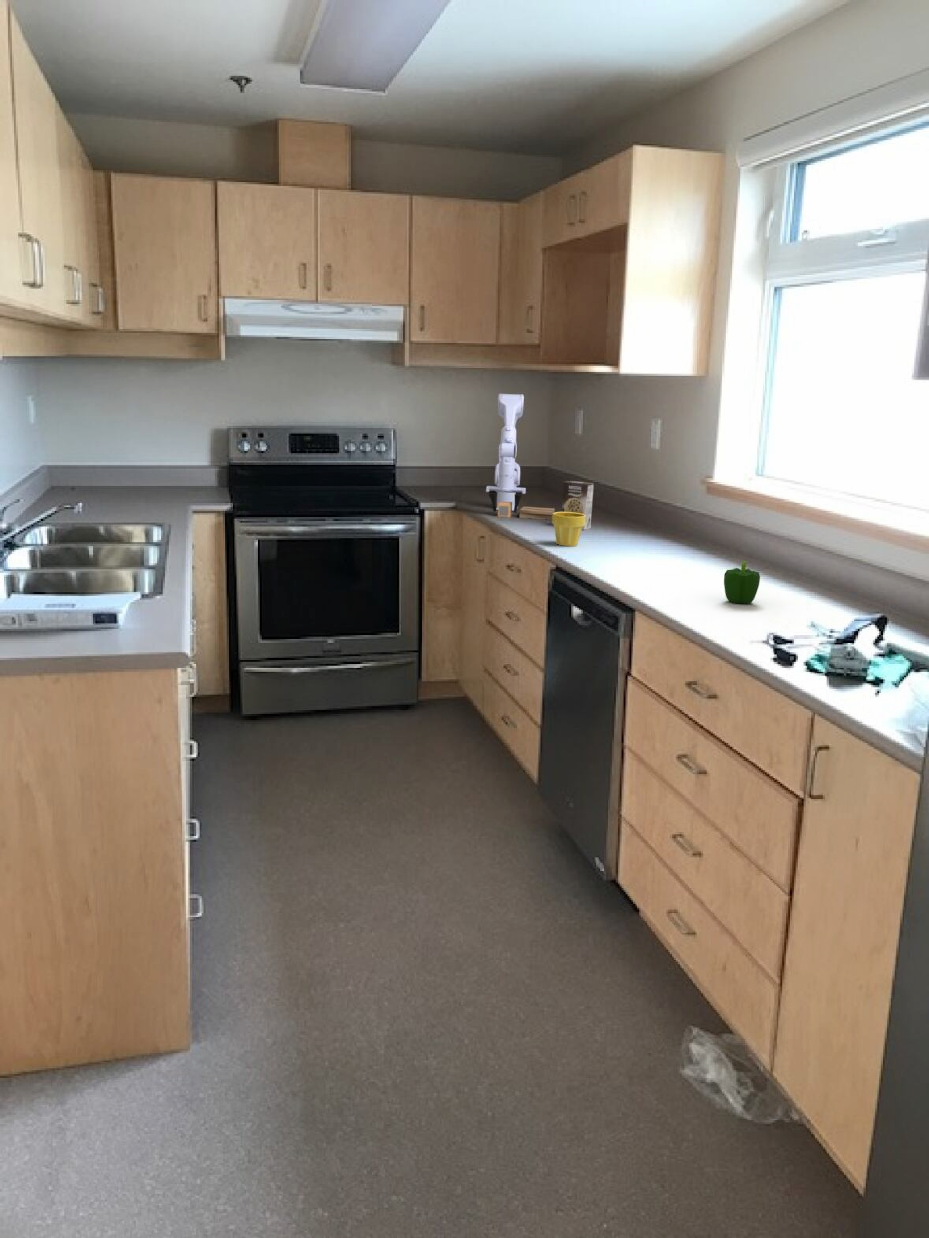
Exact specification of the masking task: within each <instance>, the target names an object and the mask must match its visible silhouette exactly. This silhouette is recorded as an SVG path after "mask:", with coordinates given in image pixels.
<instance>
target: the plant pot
mask: <svg viewBox="0 0 929 1238" xmlns="http://www.w3.org/2000/svg"><path fill="white" fill-rule="evenodd" d="M551 522H552V525H553V526H554V534H555V541H556V545H557V544H559V545H558V546H560V545H565V546H564V547H576V545H577V546H578V544H579V541H580V536H581V533H582V531H583V530H582V527H583V526H584V525H585V515H584V514H581V513H575V512H562V511H556V512H555V511H554V513H553V517H552V520H551Z"/></svg>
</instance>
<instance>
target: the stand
mask: <svg viewBox="0 0 929 1238" xmlns="http://www.w3.org/2000/svg"><path fill="white" fill-rule="evenodd" d="M555 511H556V508H553V507H552V508H551V507H537V506H522V507H521V508H520V509H519V519H528V518H532V519H531V520H545V519H547V521H549V520H550V521H552V517H553V513H555Z"/></svg>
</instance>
